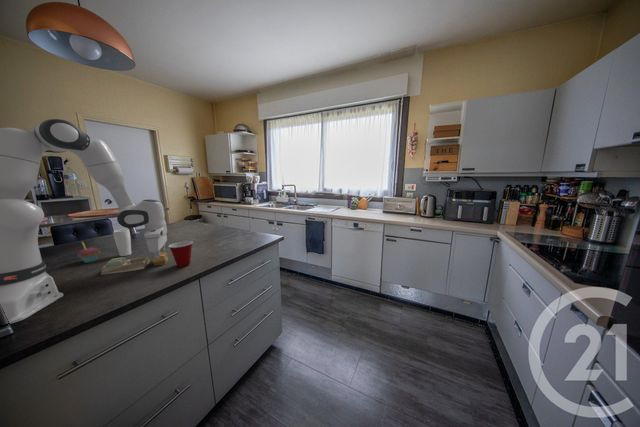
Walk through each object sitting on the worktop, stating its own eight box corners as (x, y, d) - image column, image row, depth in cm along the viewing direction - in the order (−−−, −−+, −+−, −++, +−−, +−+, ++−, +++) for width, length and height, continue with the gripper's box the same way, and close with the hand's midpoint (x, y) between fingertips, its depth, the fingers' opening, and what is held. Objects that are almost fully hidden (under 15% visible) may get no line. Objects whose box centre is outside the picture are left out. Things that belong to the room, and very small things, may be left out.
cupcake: (89, 264, 110) (84, 242, 108) (73, 264, 110) (68, 242, 108) (106, 257, 118) (102, 237, 116) (91, 257, 119) (87, 237, 116)
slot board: (143, 268, 105) (142, 259, 104) (101, 275, 98) (99, 265, 98) (150, 261, 114) (148, 252, 113) (111, 266, 107) (110, 257, 106)
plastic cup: (189, 258, 118) (187, 238, 115) (199, 263, 112) (196, 242, 109) (167, 265, 109) (164, 243, 107) (176, 271, 103) (173, 248, 101)
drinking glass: (123, 257, 119) (119, 232, 116) (114, 256, 120) (109, 231, 117) (136, 253, 125) (132, 229, 122) (127, 252, 127) (123, 228, 124)
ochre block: (165, 264, 111) (164, 255, 110) (154, 266, 109) (152, 257, 108) (167, 260, 115) (166, 252, 114) (156, 262, 113) (155, 253, 112)
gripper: (154, 226, 117) (158, 249, 120) (142, 236, 99) (147, 263, 102) (168, 224, 119) (171, 247, 122) (158, 234, 101) (163, 261, 104)
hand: (160, 254), depth 112 cm, fingers open, 8 cm apart
